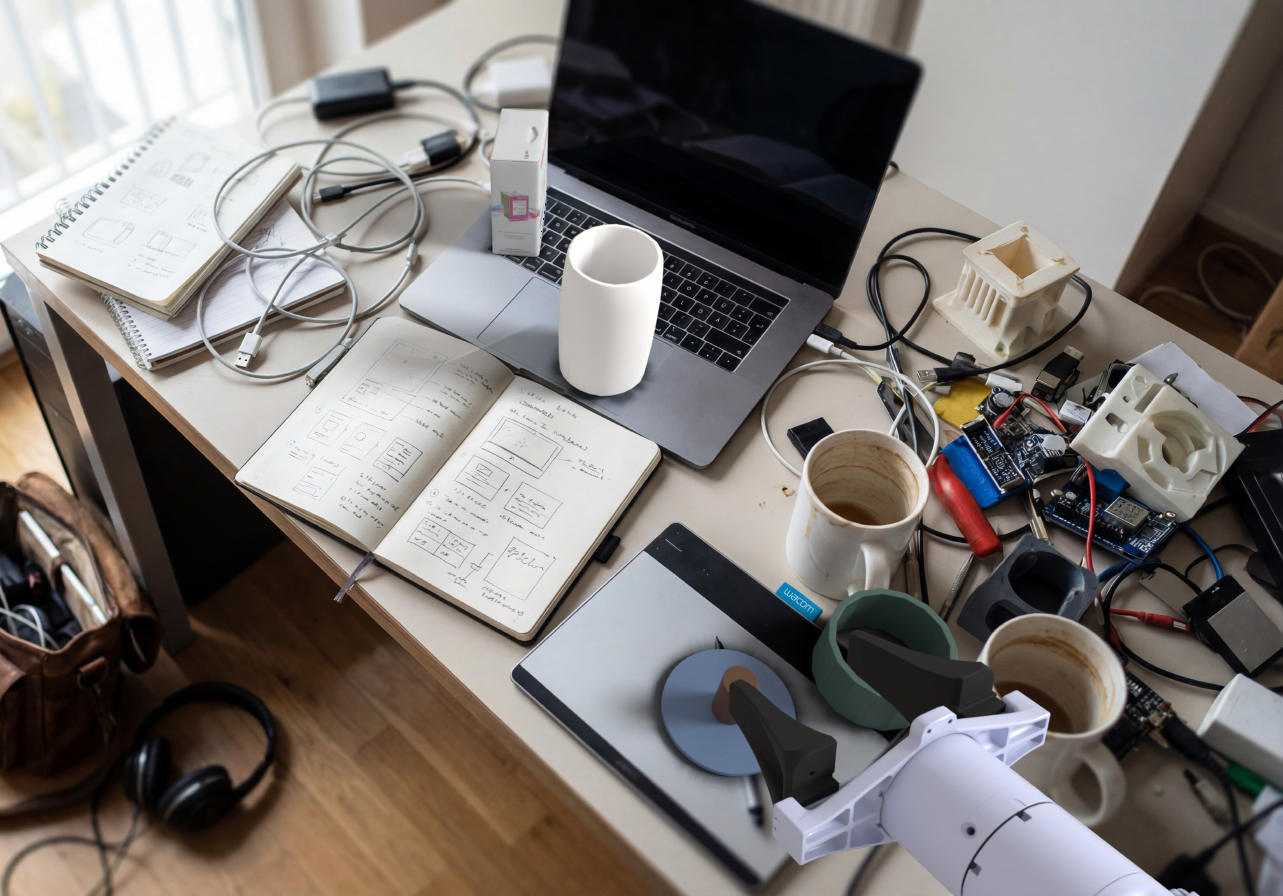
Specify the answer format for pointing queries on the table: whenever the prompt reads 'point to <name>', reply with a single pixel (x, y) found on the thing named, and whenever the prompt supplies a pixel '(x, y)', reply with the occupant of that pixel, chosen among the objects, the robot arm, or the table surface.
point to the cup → (608, 308)
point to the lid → (716, 709)
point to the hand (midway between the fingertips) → (795, 670)
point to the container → (882, 613)
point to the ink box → (519, 181)
